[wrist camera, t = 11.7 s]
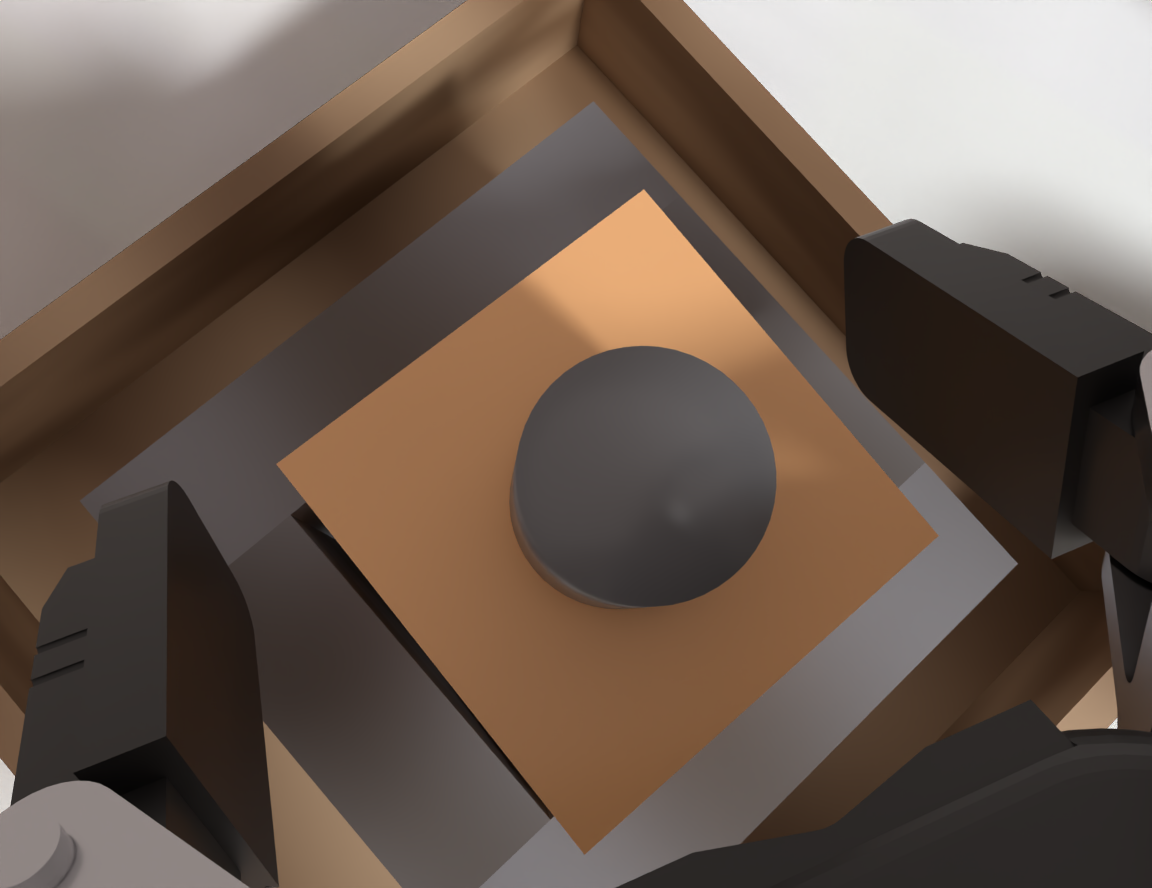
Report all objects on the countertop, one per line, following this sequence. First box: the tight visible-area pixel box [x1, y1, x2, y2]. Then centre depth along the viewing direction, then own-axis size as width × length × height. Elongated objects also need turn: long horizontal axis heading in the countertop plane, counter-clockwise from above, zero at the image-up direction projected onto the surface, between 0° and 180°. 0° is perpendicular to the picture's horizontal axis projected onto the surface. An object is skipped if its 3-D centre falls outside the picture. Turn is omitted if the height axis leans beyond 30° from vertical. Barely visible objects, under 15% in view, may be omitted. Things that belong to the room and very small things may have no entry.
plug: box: [277, 190, 939, 855], centre depth 12 cm, size 4×4×12 cm
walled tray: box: [0, 0, 1117, 888], centre depth 16 cm, size 16×16×6 cm
